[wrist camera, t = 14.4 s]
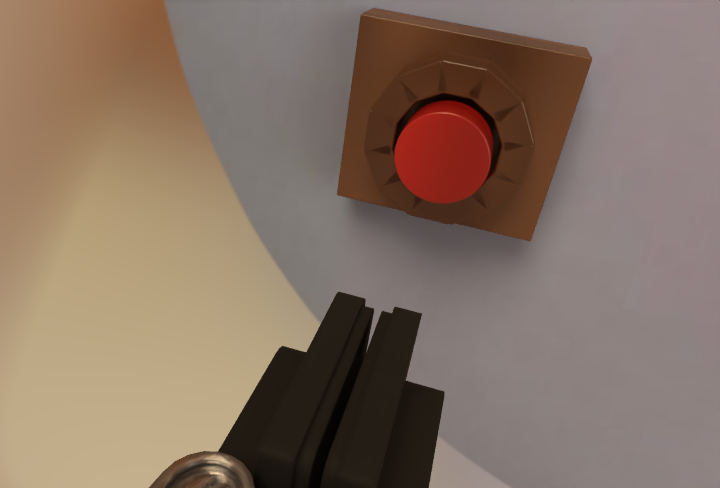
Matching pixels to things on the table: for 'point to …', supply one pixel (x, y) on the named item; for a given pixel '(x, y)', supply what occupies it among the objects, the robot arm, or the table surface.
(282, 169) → the table surface
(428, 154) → the button
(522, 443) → the table surface
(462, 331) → the table surface
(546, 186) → the button block
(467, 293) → the table surface
